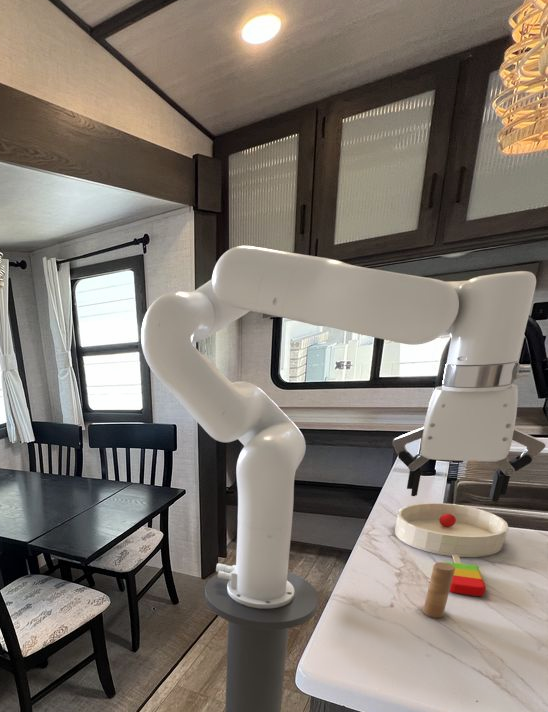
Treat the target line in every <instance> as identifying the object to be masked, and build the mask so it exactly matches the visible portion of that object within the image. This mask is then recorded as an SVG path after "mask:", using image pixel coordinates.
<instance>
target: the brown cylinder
mask: <svg viewBox="0 0 548 712" xmlns="http://www.w3.org/2000/svg"><path fill="white" fill-rule="evenodd" d="M443 562H444V561H443ZM443 562H442V561H441V562H440V561H438V562H434V563H433V567H432V571H431V575H430V579H429V584H428V589H427V591H426V596H425V600H424V605H423V609H422V613H423V614H424V615H425V616H427V617H429V618H433V619H441V618H443V617H444V614H445V611H446V606H447V602H448V599H449V594H450V587H451V583H452V579H453V575H454V571H455V567H454V566H453V565H451V564H448V563H443Z"/></svg>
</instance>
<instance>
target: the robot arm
mask: <svg viewBox="0 0 548 712" xmlns="http://www.w3.org/2000/svg"><path fill="white" fill-rule="evenodd" d="M536 286H537V278H536V275H535V274H534V273H533V272H532V271H527V270H519V271H508V272H500V273H492V274H486V275H479V276H475V277H472V278H470V279H468V280H458V281H455V280H453V281H444V280H441V279H437V278H432V277H425V276H418V275H412V274H406V273H400V272H393V271H387V270H381V269H375V268H369V267H364V266H358V265H353V264H350V263H346V262H344V261H341V260H338V259H332V258H327V257H321V256H314V255H308V254H301V253H296V252H289V251H284V250H277V249H271V248H266V247H260V246H259V247H258V246H252V245H237V246H234V247H231V248H229V249H228V250H226V251H225V252H223V254H222V255H221V256H220V257H219V259H218V260H217V261H216V262H215V266H214V268H213V271H212V276H211V279H209V280H208V281H207V282H206V283H203V284H202V285H200V286H199V287H198V288H196V289H195V290H194V291H181V290H180V291H178V290H177V291H171V292H170V291H169V292H167V293H164V294H162V295H160V296H159V297H157V298H156V299H155V300H154V301H153V302H152V303H151V304H150V305H149V306H148V308H147V311H146V312H145V314H144V316H143V320H142V324H141V332H140V333H141V334H140V339H141V341H140V342H141V349H142V353H143V356H144V359H145V361H146V363H147V365H148V367H149V369H150V370H151V372H152V373H153V374H154V375H155V377H156V378H157V379H158V380H159V381H160V383H162V385H163V386H164V387H165V388H166V389H167V390H168V391H169V392H170V393H171V394H172V395H173V396H174V397H175V398H176V400H178V402H179V403H180V404H181V405H182V407H183V408H184V409H185V410H186V411H187V412H188V413H189V414H190V416H192V417H193V419H194V420H195V421H196V422H197V423H198V424H199V426H200V427H201V428H202V429H203V430H204V431H205V432H206V433H207V435H209V436H210V438H212V439H213V440H215V441H217V442H220V443H231V442H234V441H237V440H238V441H239V442H240V443H241V444H242V445H243V448H242V449H241V450H240V453H239V455H238V458H237V461H236V470H235V471H236V472H235V473H236V487H237V532H236V533H237V534H236V557H235V559H236V560H235V564H232V565H228V564H224V563H219V562H218V563H216V567H215V572H216V573H217V574H218V578H223V579H229V582H228V584H227V591H228V594H229V596H230V597H231V598H232V599H234V600H235V601H237V602H238V603H240V604H243V605H246V606H249V607H253V608H260V609H271V608H278V607H282V606H284V605H286V604H288V603H290V602H291V601H292V600H293V598H294V593H295V592H294V587H293V585H292V584H291V583H290V582H288V581H287V573H288V572H289V561H290V551H291V550H290V549H291V540H292V539H291V538H292V529H293V528H292V527H293V513H294V502H295V501H294V498H295V497H294V495H295V476H296V472H297V469H298V468H299V466H300V464H301V462H302V461H303V459H304V457H305V454H306V449H307V448H306V447H307V446H306V445H307V444H306V440H305V437H304V435H303V433H302V431H301V430H300V429H299V427H298V426H297V425H296V424H295V423H294V422H293V421H292V419H291V418H290V417H289V416H288V415H286V414H285V412H284V411H283V410H282V409H281V408H280V407H279V406H278V405H277V403H275V401H273V400H272V399H271V397H269V395H268V394H266V393H265V391H264V390H263V389H261V388H260V387H258V386H257V385H255V384H254V383H252V382H248V381H244V380H243V381H242V380H241V381H234V382H232V381H231V380H230V379H229V378H228V377H227V376H226V375H225V374H224V373H223V372H222V371H220V369H219V368H218V367H217V366H216V365H215V364H214V362H213V361H212V360H211V359H209V358H208V357H207V356H206V355H204V354H203V353H202V352H201V351H200V350H199V349H198V348H196V346H195V344H194V343H199V342H202V341H204V340H206V339H208V338H209V337H211V336H213V335H214V334H216V333H218V332H219V331H221V330H222V329H224V328H226V327H227V326H229V325H230V324H232V323H234V322H235V321H237V320H239V319H240V318H242V317H243V316H245V315H246V314H248V313H250V312H254V313H260V314H265V315H269V316H274V317H278V318H283V319H286V320H291V321H296V322H300V323H303V324H304V323H305V324H309V325H312V326H316V327H324V328H325V327H327V328H331V329H337V330H340V331H345V332H349V333H353V334H358V335H361V336H366V337H371V338H375V339H380V340H384V341H390V342H394V343H397V344H404V345H408V346H409V345H411V346H415V345H416V346H419V345H423V344H427V343H431V342H432V341H434V340H436V339H438V338H440V337H442V336H449V335H450V342H449V347H448V353H447V359H446V364H445V367H444V373H443V380H442V384H441V386H436V387H435V388H434V390H433V393H432V395H431V398H430V401H429V404H428V406H427V411H426V415H425V418H424V422H423V427H421V428H418V429H414V430H412V431H410V432H407V433H405V434H402V435H399V436H398V437H394V438H393V439H392V446H393V448H394V450H395V453H396V454H397V457H398V459H399V460H400V461H401V462H402V463H403V464H404V466H406V467H407V469H408V470H409V471H408V472H409V473H408V479H407V484H406V489H407V490H411V493H410V494H411V495H410V496H411V497H416V496H418V491H419V487H420V481H421V476H422V467H423V465H425V464H426V463H427V462H428V461H430V460H435V461H436V460H437V461H455V462H456V461H460V462H483V463H484V462H485V463H486V462H487V463H488V462H489V463H490V462H494V463H495V465H496V466H497V467H498V469H496V470H495V471H494V475H493V480H492V483H491V487H490V491H489V498H490V501H491V502H492V503H499V500H500V497H501V496H506V493H507V490H508V486H509V482H510V479H511V476H513V475H515V473H516V472H517V471H519V470H521V469H523V468H524V467H526V466H528V465H529V464H531V463H532V461H533V460H534V459H535V458H536V457H537V456H538V455H539V454H540V453H541V452H542V451H543V450H544V449H545V448H546V443H545V442H544V441H543V440H541V439H538V438H537V437H535V436H532V435H530V434H527V433H526V432H523V431H521V430H519V429H517V428H515V426H516V420H517V412H518V403H519V401H518V400H519V397H518V396H519V395H518V394H519V389H518V387H519V386H518V385H516V384H515V381H516V380H518V379H521V378H525V377H526V378H527V377H529V376H530V373H531V367H532V365H524V364H520V363H519V357H520V353H521V349H522V345H523V340H524V337H525V332H526V329H527V324H528V320H529V316H530V312H531V307H532V304H533V299H534V295H535V291H536ZM418 440H420V444H419V448H420V451H419V452H418V453H416V454H415V455H414V456H413V454H411V452H409V451H408V450H407V447H406V445H408V444H410V443H414V442H415V441H418ZM513 441H514V442H515V443H518V444H520V445H522V446H524V447H526V448H525V449H524V451H523V452H522V453H520V454H519V455H517V456H515V457H514V458H512V459H510V460H509V458H508V455H509V453H510V450H511V448H512V442H513Z"/></svg>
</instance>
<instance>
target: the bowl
mask: <svg viewBox="0 0 548 712" xmlns="http://www.w3.org/2000/svg"><path fill="white" fill-rule="evenodd" d="M444 514H451V515H453V516H454V517H455V518H456V522H455V524H454V525H453V526H451V527H444V526H442V525H441V524H440V522H439V519H440V517H441V516H442V515H444ZM508 524H509V523H508V522H507V521H506V520H505V519H504V518H502V517H501V516H499V515H496V514H495V513H492V512H489V511H487V510H483V509H481V508H476V507H471V506H468V505H462V504H455V503H444V502H425V503H424V502H423V503H422V502H421V503H414V504H409V505H406V506H404V507H402V508H400V509H399V510H398V511H397V517H396V522H395V528H394V534H395V536H396V538H398V540H400V541H401V542H402V543H404V544H406V545H408V546H410V547H413V548H415V549H418V550H421V551H424V552H428V553H432V554H436V555H441V556H448V557H449V556H450V557H453V556H452V555H453V554H457V555H459V558H480V557H488V556H491V555H494V554H497V553H498V552H500V551H501V550H502V548H503V545H504V544H505V541H506V537H507V534H508V531H509V525H508Z"/></svg>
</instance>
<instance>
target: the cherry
mask: <svg viewBox="0 0 548 712" xmlns="http://www.w3.org/2000/svg"><path fill="white" fill-rule="evenodd" d="M439 522H440V524H441V525H442V526H444V527H451V526H453V525H454V524H455V522H456V518H455V517H454V516H453V515H451V514H444V515H442V516H441V517H440V519H439Z"/></svg>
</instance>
